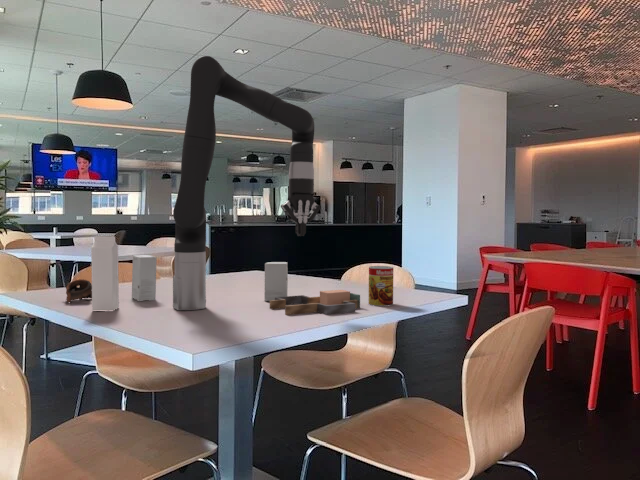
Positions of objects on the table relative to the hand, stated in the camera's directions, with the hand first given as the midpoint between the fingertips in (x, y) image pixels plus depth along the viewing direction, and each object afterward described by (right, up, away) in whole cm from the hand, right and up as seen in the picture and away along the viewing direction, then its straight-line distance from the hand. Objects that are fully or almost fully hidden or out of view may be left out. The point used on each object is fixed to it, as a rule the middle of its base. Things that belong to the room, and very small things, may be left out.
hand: (300, 235), depth 156 cm
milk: (-58, -22, -1) cm, 62 cm away
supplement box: (-9, -22, +19) cm, 30 cm away
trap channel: (+4, -22, +2) cm, 23 cm away
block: (+10, -22, +6) cm, 25 cm away
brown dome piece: (-74, -22, +15) cm, 78 cm away
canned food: (+25, -22, +11) cm, 35 cm away
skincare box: (-54, -22, +20) cm, 61 cm away
